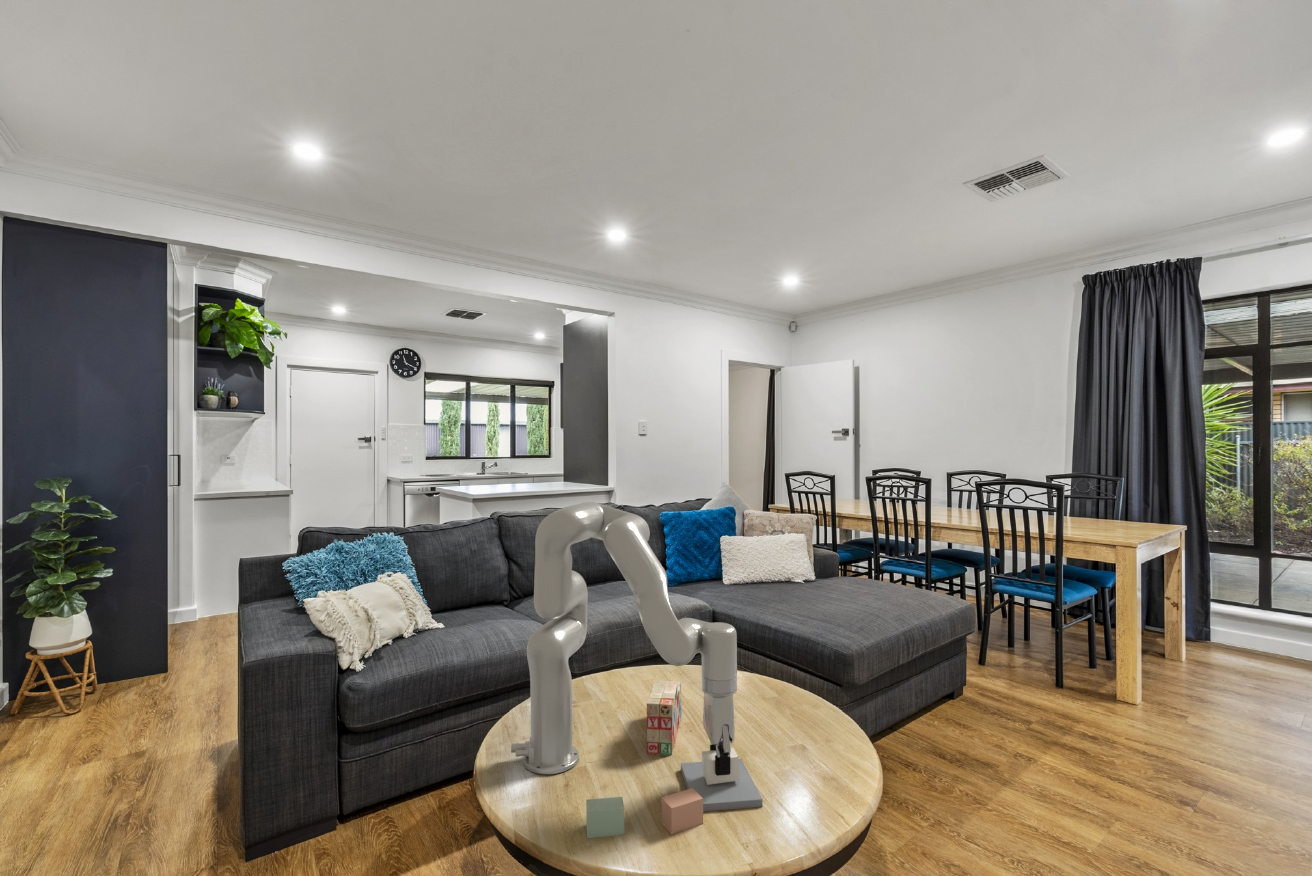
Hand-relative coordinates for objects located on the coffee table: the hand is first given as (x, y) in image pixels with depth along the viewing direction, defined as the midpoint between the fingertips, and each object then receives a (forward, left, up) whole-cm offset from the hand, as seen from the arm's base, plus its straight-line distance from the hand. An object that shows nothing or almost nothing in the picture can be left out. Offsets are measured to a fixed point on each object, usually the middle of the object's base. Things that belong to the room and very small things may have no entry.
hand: (720, 767), depth 133 cm
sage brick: (-25, -11, -4) cm, 28 cm away
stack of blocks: (-8, +26, -5) cm, 27 cm away
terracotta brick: (-10, -11, -4) cm, 16 cm away
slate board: (0, 0, -4) cm, 4 cm away
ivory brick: (0, 0, -2) cm, 2 cm away
